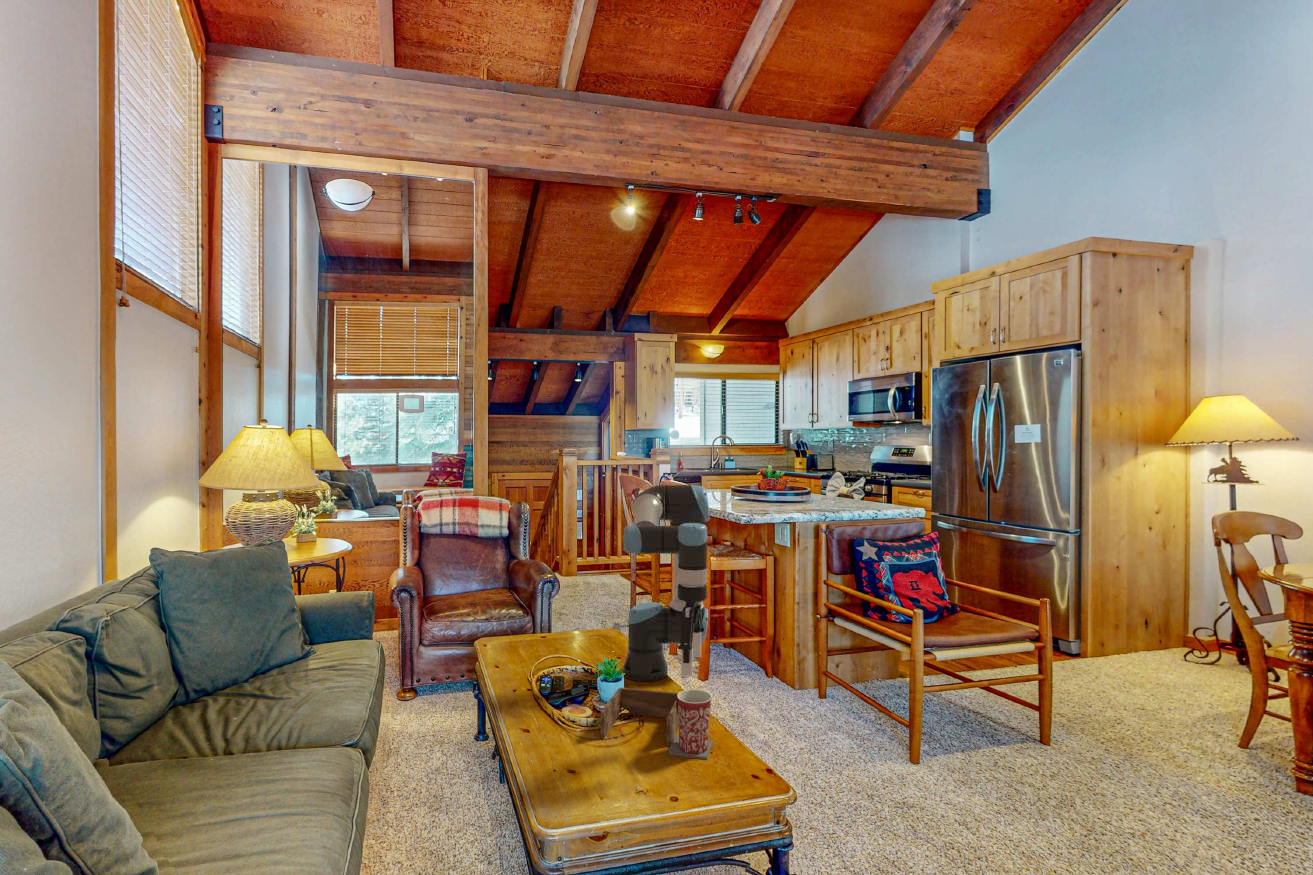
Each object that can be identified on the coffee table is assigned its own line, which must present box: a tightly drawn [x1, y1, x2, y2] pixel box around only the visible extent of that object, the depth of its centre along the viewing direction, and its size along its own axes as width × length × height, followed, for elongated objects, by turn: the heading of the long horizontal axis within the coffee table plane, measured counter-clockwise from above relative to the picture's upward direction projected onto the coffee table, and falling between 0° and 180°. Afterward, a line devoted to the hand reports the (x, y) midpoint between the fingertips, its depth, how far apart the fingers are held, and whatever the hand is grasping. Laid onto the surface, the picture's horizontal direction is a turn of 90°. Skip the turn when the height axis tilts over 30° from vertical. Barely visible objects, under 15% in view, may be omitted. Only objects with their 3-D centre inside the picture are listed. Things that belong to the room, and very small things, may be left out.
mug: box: [676, 688, 713, 754], centre depth 178 cm, size 13×9×14 cm
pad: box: [667, 735, 714, 760], centre depth 177 cm, size 10×10×1 cm
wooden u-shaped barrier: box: [599, 687, 679, 747], centre depth 189 cm, size 18×19×7 cm
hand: (691, 665), depth 177 cm, fingers open, 13 cm apart
